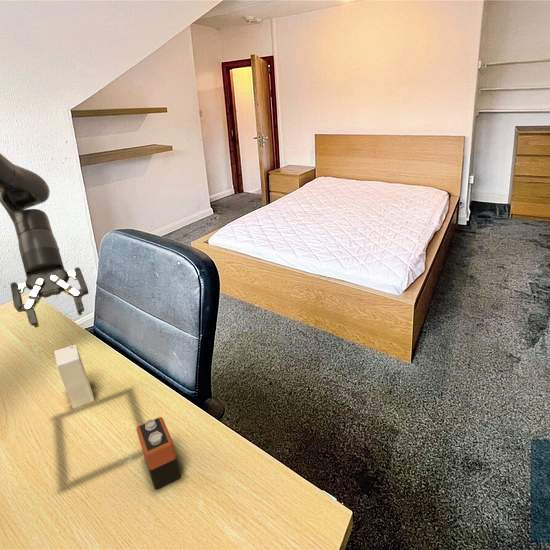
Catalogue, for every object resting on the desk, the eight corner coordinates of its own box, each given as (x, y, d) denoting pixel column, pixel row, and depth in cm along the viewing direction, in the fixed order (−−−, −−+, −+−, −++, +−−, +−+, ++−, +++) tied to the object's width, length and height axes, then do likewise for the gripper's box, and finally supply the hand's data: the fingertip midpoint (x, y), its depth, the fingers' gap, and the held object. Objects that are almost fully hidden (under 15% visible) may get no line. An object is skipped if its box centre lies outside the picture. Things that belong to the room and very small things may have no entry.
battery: (156, 495, 65) (143, 450, 60) (146, 464, 70) (134, 421, 66) (183, 482, 66) (172, 438, 62) (171, 453, 72) (160, 410, 68)
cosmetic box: (70, 396, 87) (53, 350, 82) (91, 388, 89) (76, 343, 84) (74, 413, 82) (56, 366, 77) (96, 405, 84) (80, 358, 79)
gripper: (-2, 254, 85) (16, 325, 81) (72, 238, 91) (92, 304, 87) (8, 268, 92) (25, 335, 87) (76, 253, 97) (95, 315, 93)
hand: (58, 320), depth 87 cm, fingers open, 8 cm apart
